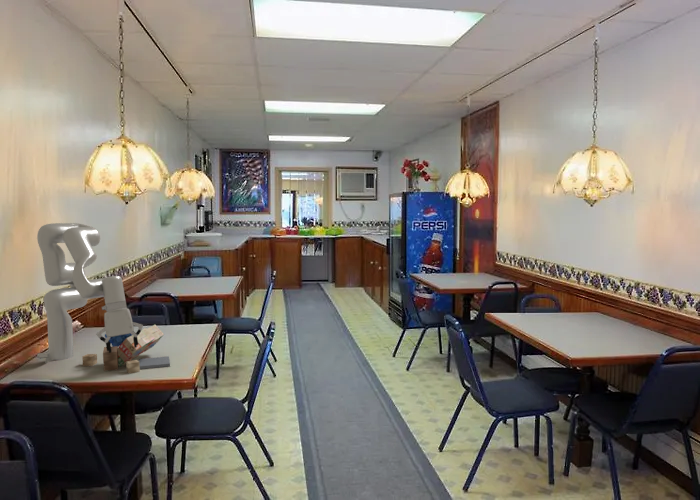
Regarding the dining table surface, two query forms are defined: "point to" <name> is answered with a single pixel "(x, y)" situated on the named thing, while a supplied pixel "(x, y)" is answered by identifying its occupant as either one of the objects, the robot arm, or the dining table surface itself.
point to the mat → (154, 362)
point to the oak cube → (89, 359)
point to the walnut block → (110, 359)
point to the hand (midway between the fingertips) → (123, 349)
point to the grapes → (118, 339)
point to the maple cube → (132, 366)
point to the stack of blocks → (145, 342)
